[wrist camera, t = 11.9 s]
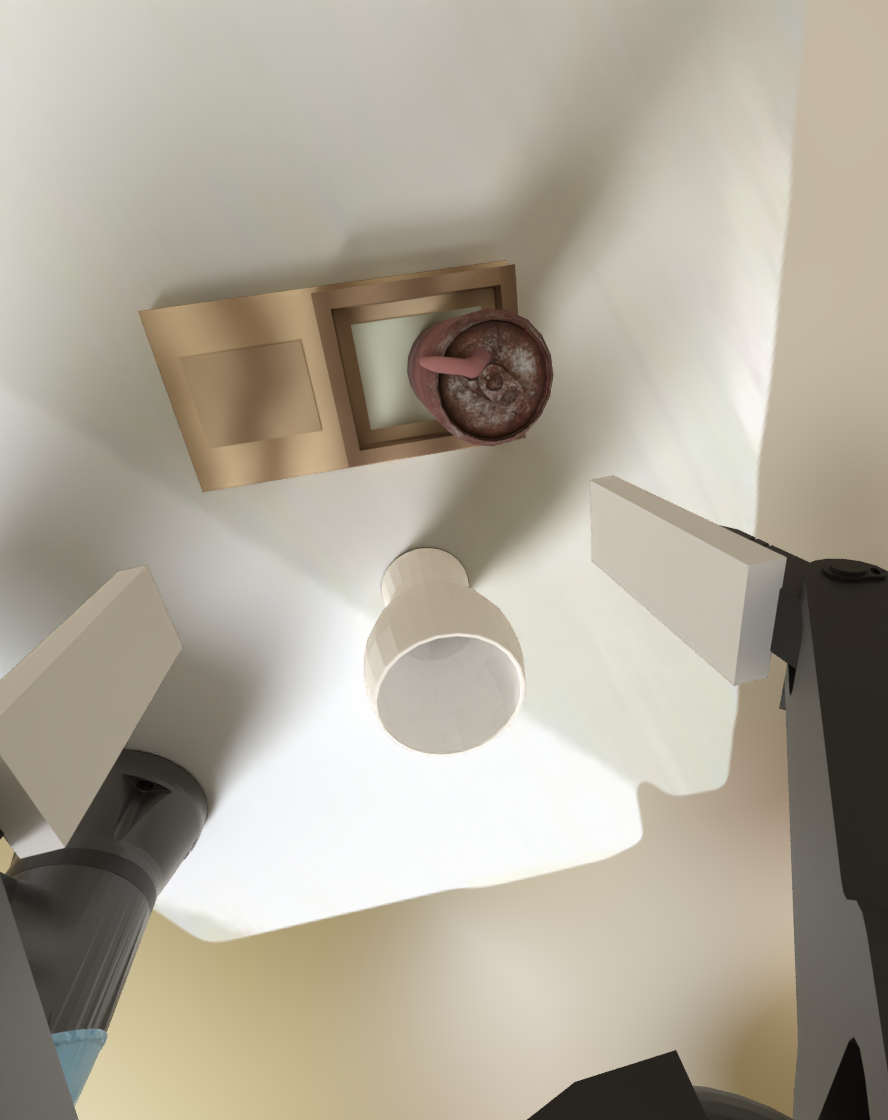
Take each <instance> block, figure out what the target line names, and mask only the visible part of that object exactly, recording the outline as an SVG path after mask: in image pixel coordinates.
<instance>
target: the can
mask: <svg viewBox="0 0 888 1120" xmlns="http://www.w3.org/2000/svg"><path fill="white" fill-rule="evenodd" d="M407 374H408V378H409V382H410V386H411V388H412V389H413V391H414V393H415V394H416V396H417V398H418V399H419V400H420V401H421V402H422V404H423V405H424V406H425V407H426V408H427V409H428V410H429V411H430V412H431V414H432V415H433V416H434V417H435V418H436V419H437V420H438V421H439V422H440V424H441V425H442V426H443V427H445V428H446V429H447V430H448V431H449V432H450V433H451V434H453V435H454V436H455V437H456V438H458V439H461V440H463V441H465V442H468V443H470V444H473V445H483V446H495V445H499V444H502V443H506V442H510V441H512V440H514V439H515V438H517V437H518V436H520V435H522V434H523V433H525V432H526V431H528V430H529V429H530V427H531V426H532V425H533V424H534V423H535V422H536V421H537V419H538V418H539V417H540V416H541V414H542V412H543V410H544V408H545V406H546V404H547V402H548V399H549V397H550V393H551V386H552V380H553V369H552V361H551V354H550V352H549V350H548V347H547V345H546V343H545V341H544V339H543V336H542V335H541V334H540V333H539V331H538V330H537V329H536V328H535V327H534V326H533V325H532V324H531V323H530V322H529V321H528V320H527V319H525V318H523V317H521V316H519V315H517V314H515V313H513V312H511V311H509V310H499V309H490V308H488V309H484V310H480V311H476V312H472V313H468V314H465V315H461V316H458V317H454V318H451V319H447V320H444V321H440V322H437V323H434V324H432V325H431V326H429V327H428V328H426V329H425V330H423V331H422V332H421V333H420V335H419V336H418V337H417V339H416V340H415V341H414V342H413V344H412V347H411V350H410V353H409V355H408V364H407Z"/></svg>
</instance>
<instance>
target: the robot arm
mask: <svg viewBox="0 0 888 1120" xmlns="http://www.w3.org/2000/svg"><path fill="white" fill-rule="evenodd" d="M590 512H591V557H592V562H593V563H594V564H596V565H597V566H598V567H599V568H600V569H601V570H602V571H603V572H605V573H606V574H607V575H608V576H609V577H610V578H611V579H613V580H614V581H615V582H616V583H617V584H618V585H619V586H621V587H622V588H623V589H624V590H625V591H626V592H627V593H629V594H630V595H631V596H632V597H633V598H634V599H635V600H637V601H638V602H639V603H640V604H641V605H642V606H643V607H645V608H646V609H647V610H648V611H649V612H650V613H651V614H652V615H654V616H655V617H656V618H657V619H658V620H659V621H660V622H662V623H663V624H664V625H665V626H666V627H667V628H668V629H670V630H671V631H672V632H673V633H674V634H675V635H676V636H678V637H679V638H680V639H681V640H682V641H683V642H684V643H686V644H687V645H688V646H689V647H690V648H691V649H692V650H694V651H695V652H696V653H697V654H698V655H699V656H700V657H702V658H703V659H704V660H705V661H706V662H707V663H708V664H709V665H711V666H712V667H713V668H714V669H715V670H716V671H717V672H719V673H720V674H721V675H722V676H723V677H724V678H725V679H727V680H728V681H729V682H730V683H731V684H732V685H733V686H735V685H739V684H743V683H747V682H751V681H756V680H760V679H764V678H768V672H769V666H770V660H771V654H772V653H774V654H775V655H777V656H778V657H780V658H781V659H782V660H784V661H785V662H787V668H786V674H785V679H784V686H783V691H782V697H781V702H780V709H784V710H786V730H787V757H788V784H789V810H790V834H791V835H790V837H791V863H792V890H793V915H794V943H795V969H796V996H797V1023H798V1049H797V1050H798V1051H797V1064H796V1075H795V1086H794V1103H793V1104H794V1105H793V1119H791V1118H790V1117H788V1116H786V1115H784V1114H782V1113H780V1112H778V1111H776V1110H775V1109H773V1108H771V1107H769V1106H766V1105H764V1104H761V1103H758V1102H755V1101H753V1100H751V1099H748V1098H745V1097H743V1096H740V1095H737V1094H733V1093H729V1092H725V1091H721V1090H717V1089H713V1088H708V1087H701V1086H692V1084H691V1082H690V1080H689V1077H688V1075H687V1073H686V1071H685V1069H684V1066H683V1064H682V1062H681V1060H680V1058H679V1056H678V1053H677V1051H676V1050H675V1051H672V1052H669V1053H666V1054H662V1055H659V1056H656V1057H653V1058H650V1059H646V1060H643V1061H640V1062H637V1063H634V1064H631V1065H628V1066H624V1067H622V1068H618V1069H615V1070H612V1071H609V1072H605V1073H602V1074H599V1075H596V1076H593V1077H589V1078H586V1079H583V1080H580V1081H577V1082H574V1083H573V1084H572V1085H570V1087H568V1088H567V1089H565V1090H564V1091H563V1092H562V1093H560V1094H559V1095H558V1096H557V1097H555V1098H554V1099H553V1100H551V1101H550V1102H549V1103H548V1104H546V1105H545V1106H544V1107H543V1108H541V1109H540V1110H539V1111H538V1112H536V1113H535V1114H534V1115H532V1116H531V1117H530V1118H529V1119H527V1120H888V571H886V570H884V569H882V568H880V567H878V566H875V565H872V564H868V563H864V562H861V561H854V560H847V559H823V560H816V561H813V562H811V563H809V562H807V561H805V560H803V559H801V558H799V557H797V556H794V555H792V554H790V553H788V552H785V551H783V550H781V549H779V548H777V547H775V546H773V545H772V546H769V544H768V543H766V542H764V541H762V540H760V539H755V537H753V536H751V535H749V534H747V533H744V532H742V531H740V530H737V529H733V528H729V527H725V526H720V525H717V524H715V523H713V522H711V521H709V520H707V519H704V518H702V517H700V516H698V515H696V514H694V513H692V512H690V511H687V510H685V509H683V508H681V507H679V506H677V505H675V504H673V503H671V502H668V501H666V500H664V499H662V498H660V497H658V496H656V495H654V494H651V493H649V492H647V491H645V490H643V489H641V488H639V487H637V486H635V485H632V484H630V483H628V482H626V481H624V480H622V479H620V478H618V477H615V476H608V477H603V478H598V479H593V480H590ZM182 647H183V646H182V644H181V641H180V639H179V637H178V635H177V632H176V630H175V628H174V625H173V623H172V621H171V619H170V616H169V614H168V612H167V609H166V607H165V605H164V603H163V600H162V598H161V596H160V593H159V591H158V589H157V587H156V584H155V582H154V580H153V577H152V575H151V573H150V571H149V568H148V566H142V567H136V568H131V569H126V570H121V571H118V572H117V573H116V574H115V575H114V576H113V577H112V578H111V579H110V580H108V581H107V582H106V583H105V584H104V585H103V586H102V587H101V588H100V589H99V590H98V591H97V592H95V593H94V594H93V595H92V596H91V597H90V598H89V599H88V600H87V601H86V602H85V603H84V604H82V605H81V606H80V607H79V608H78V609H77V610H76V611H75V612H74V613H73V614H72V615H71V616H69V617H68V618H67V619H66V620H65V621H64V622H63V623H62V624H61V625H60V626H59V627H58V628H56V629H55V630H54V631H53V632H52V633H51V634H50V635H49V636H48V637H47V638H46V639H45V640H43V641H42V642H41V643H40V644H39V645H38V646H37V647H36V648H35V649H34V650H33V651H32V652H30V653H29V654H28V655H27V656H26V657H25V658H24V659H23V660H22V661H21V662H20V663H19V664H17V665H16V666H15V667H14V668H13V669H12V670H11V671H10V672H9V673H8V674H7V675H6V676H4V677H3V678H2V679H1V680H0V839H1V838H2V836H3V837H4V838H5V839H6V841H7V842H8V843H9V845H10V846H11V847H12V849H13V850H14V855H13V858H12V862H11V865H10V868H9V869H8V871H7V872H6V874H3V873H1V872H0V1120H78V1117H77V1114H76V1111H75V1108H74V1106H75V1105H76V1103H77V1101H78V1099H79V1096H80V1094H81V1092H82V1090H83V1087H84V1085H85V1083H86V1081H87V1078H88V1076H89V1074H90V1072H91V1069H92V1067H93V1065H94V1063H95V1060H96V1058H97V1056H98V1054H99V1052H100V1050H101V1049H102V1047H103V1046H104V1044H105V1042H106V1039H107V1030H108V1027H109V1025H110V1022H111V1019H112V1017H113V1014H114V1011H115V1008H116V1006H117V1003H118V1000H119V998H120V995H121V993H122V990H123V987H124V985H125V982H126V979H127V976H128V973H129V971H130V968H131V966H132V963H133V960H134V958H135V955H136V952H137V949H138V947H139V944H140V941H141V939H142V936H143V933H144V931H145V928H146V925H147V923H148V920H149V917H150V915H151V912H152V909H153V907H154V904H155V901H156V899H157V897H158V895H159V894H160V892H161V891H162V890H163V888H164V887H165V885H166V884H167V883H168V881H169V880H170V878H171V877H172V876H173V874H174V873H175V871H176V870H177V868H178V867H179V866H180V864H181V863H182V861H183V860H184V859H185V858H186V857H187V856H188V855H189V853H190V852H191V851H192V850H193V848H194V847H195V845H196V843H197V841H198V839H199V837H200V834H201V831H202V828H203V825H204V822H205V819H206V816H207V801H206V797H205V795H204V792H203V790H202V788H201V787H200V785H199V784H198V783H197V781H196V780H195V779H194V778H193V777H192V776H191V775H190V774H189V773H188V772H186V771H185V770H184V769H182V768H181V767H179V766H177V765H176V764H174V763H172V762H170V761H168V760H166V759H163V758H161V757H158V756H155V755H151V754H147V753H143V752H137V751H129V750H123V748H124V746H125V745H126V743H127V741H128V739H129V738H130V736H131V734H132V733H133V731H134V729H135V727H136V726H137V724H138V722H139V721H140V719H141V717H142V716H143V714H144V712H145V710H146V709H147V707H148V705H149V704H150V702H151V700H152V698H153V697H154V695H155V693H156V692H157V690H158V688H159V687H160V685H161V683H162V681H163V680H164V678H165V676H166V675H167V673H168V671H169V669H170V668H171V666H172V664H173V663H174V661H175V659H176V658H177V656H178V654H179V652H180V651H181V649H182Z"/></svg>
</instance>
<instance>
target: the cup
mask: <svg viewBox="0 0 888 1120" xmlns="http://www.w3.org/2000/svg"><path fill="white" fill-rule="evenodd" d="M381 589H382V598H383V601H384V605H385V607H386V608H385V609H384V610H383V611H382V613H381V614H380V616H379V618H378V620H377V622H376V623H375V625H374V627H373V629H372V631H371V633H370V635H369V637H368V639H367V643H366V649H365V655H364V681H365V687H366V693H367V696H368V698H369V701H370V704H371V707H372V709H373V712H374V715H375V717H376V719H377V721H378V723H379V725H380V727H381V729H382V730H383V731H384V732H385V733H386V734H387V735H388V736H389V737H390V738H391V739H392V740H393V741H394V742H395V743H396V744H398V745H400V746H402V747H404V748H405V749H407V750H409V751H412V752H416V753H419V754H423V755H427V756H451V755H458V754H464V753H467V752H470V751H472V750H475V749H478V748H481V747H483V746H484V745H486V744H488V743H489V742H491V741H493V740H494V739H496V738H497V737H499V736H500V735H501V734H502V733H503V732H504V731H505V730H506V729H507V728H508V727H509V726H510V725H511V724H512V722H513V721H514V719H515V718H516V716H517V715H518V713H519V712H520V709H521V706H522V703H523V700H524V697H525V671H524V662H523V654H522V651H521V647H520V644H519V641H518V638H517V636H516V634H515V632H514V630H513V628H512V626H511V624H510V622H509V621H508V620H507V618H506V617H505V615H504V614H503V613H502V611H501V610H500V608H498V607H497V606H496V605H494V604H493V603H492V602H490V601H489V600H488V599H486V598H485V597H484V596H482V595H481V594H479V593H478V592H476V591H475V590H473V589H471V588H469V583H468V578H467V575H466V572H465V569H464V568H463V566H462V565H461V563H460V562H459V561H458V560H457V559H456V558H455V557H453V556H452V555H451V554H449V553H447V552H445V551H442V550H440V549H433V548H421V549H415V550H412V551H409V552H407V553H404V554H403V555H401V556H400V557H398V558H397V559H395V561H394V562H393V563H392V564H391V565H390V566H389V567H388V569H387V571H386V573H385V575H384V577H383V581H382V587H381Z"/></svg>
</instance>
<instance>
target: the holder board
mask: <svg viewBox="0 0 888 1120" xmlns="http://www.w3.org/2000/svg"><path fill="white" fill-rule="evenodd" d="M488 308H490V309H499V310H509V311H511V312H513V313H515V314H517V315H518V308H517V292H516V276H515V265H507V266H506V260H504V261H497V262H489V263H482V264H475V265H468V266H461V267H453V268H446V269H439V270H432V271H425V272H418V273H410V274H403V275H396V276H389V277H382V278H374V279H367V280H360V281H353V282H346V283H339V284H331V285H324V286H317V287H310V288H303V289H295V290H288V291H281V292H274V293H267V294H260V295H252V296H245V297H238V298H231V299H224V300H216V301H209V302H202V303H195V304H188V305H180V306H173V307H166V308H159V309H152V310H145V311H138V312H139V315H140V318H141V320H142V323H143V326H144V329H145V332H146V334H147V337H148V340H149V343H150V346H151V348H152V351H153V354H154V357H155V360H156V362H157V365H158V368H159V371H160V373H161V376H162V379H163V382H164V385H165V387H166V390H167V393H168V396H169V399H170V401H171V404H172V407H173V410H174V413H175V415H176V418H177V421H178V424H179V427H180V429H181V432H182V435H183V438H184V441H185V443H186V446H187V449H188V452H189V455H190V457H191V460H192V463H193V466H194V469H195V471H196V474H197V477H198V480H199V483H200V485H201V488H202V491H203V492H207V491H213V490H219V489H225V488H231V487H237V486H243V485H249V484H255V483H261V482H267V481H273V480H279V479H285V478H291V477H297V476H303V475H309V474H315V473H321V472H327V471H333V470H339V469H345V468H351V467H357V466H363V465H369V464H375V463H381V462H387V461H393V460H399V459H405V458H411V457H417V456H423V455H429V454H435V453H441V452H447V451H453V450H459V449H465V448H471V447H477V446H483V445H473V444H470V443H468V442H465V441H463V440H461V439H458V438H456V437H455V436H454V435H453V434H451V433H450V432H449V431H448V430H447V429H446V428H445V427H443V426H442V425H441V424H440V422H439V421H438V420H437V419H436V418H435V417H434V416H433V415H432V414H431V412H430V411H429V410H428V409H427V408H426V407H425V406H424V405H423V404H422V402H421V401H420V400H419V399H418V398H417V396H416V394H415V393H414V391H413V389H412V388H411V386H410V382H409V378H408V374H407V364H408V355H409V353H410V350H411V347H412V344H413V342H414V341H415V340H416V339H417V337H418V336H419V335H420V333H421V332H422V331H423V330H425V329H426V328H428V327H429V326H431V325H432V324H434V323H437V322H440V321H444V320H447V319H451V318H454V317H458V316H461V315H465V314H468V313H472V312H476V311H480V310H484V309H488ZM520 438H526V436H525V433H523V434H522V435H520V436H518V437H517V438H515V439H514V440H518V439H520ZM512 441H513V440H512Z"/></svg>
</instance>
